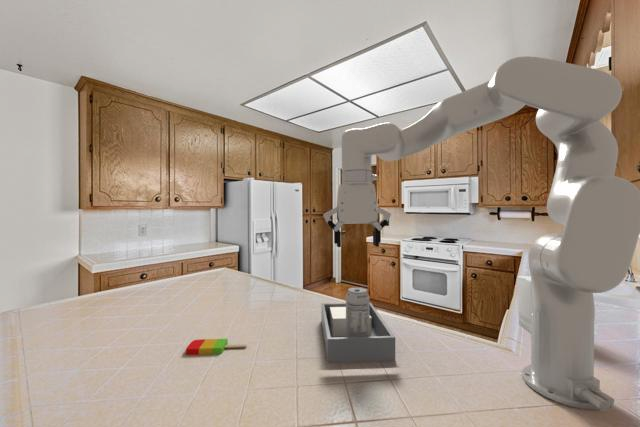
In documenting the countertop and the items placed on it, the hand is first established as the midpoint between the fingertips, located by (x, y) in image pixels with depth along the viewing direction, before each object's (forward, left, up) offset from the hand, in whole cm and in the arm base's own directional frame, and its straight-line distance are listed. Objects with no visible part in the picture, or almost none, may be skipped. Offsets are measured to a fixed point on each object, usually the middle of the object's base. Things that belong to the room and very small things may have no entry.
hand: (357, 246), depth 69 cm
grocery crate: (+6, 0, -27) cm, 28 cm away
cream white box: (+11, 0, -26) cm, 28 cm away
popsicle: (+4, +36, -28) cm, 46 cm away
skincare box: (+10, -57, -27) cm, 64 cm away
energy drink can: (0, 0, -26) cm, 26 cm away
